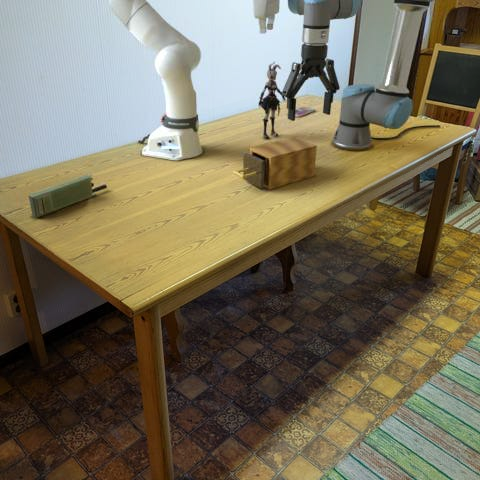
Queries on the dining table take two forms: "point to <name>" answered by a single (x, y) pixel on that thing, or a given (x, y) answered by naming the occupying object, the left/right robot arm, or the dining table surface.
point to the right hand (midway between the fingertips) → (309, 116)
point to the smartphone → (303, 111)
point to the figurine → (270, 99)
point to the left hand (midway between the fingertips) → (266, 31)
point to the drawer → (254, 169)
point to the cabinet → (288, 160)
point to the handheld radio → (62, 195)
